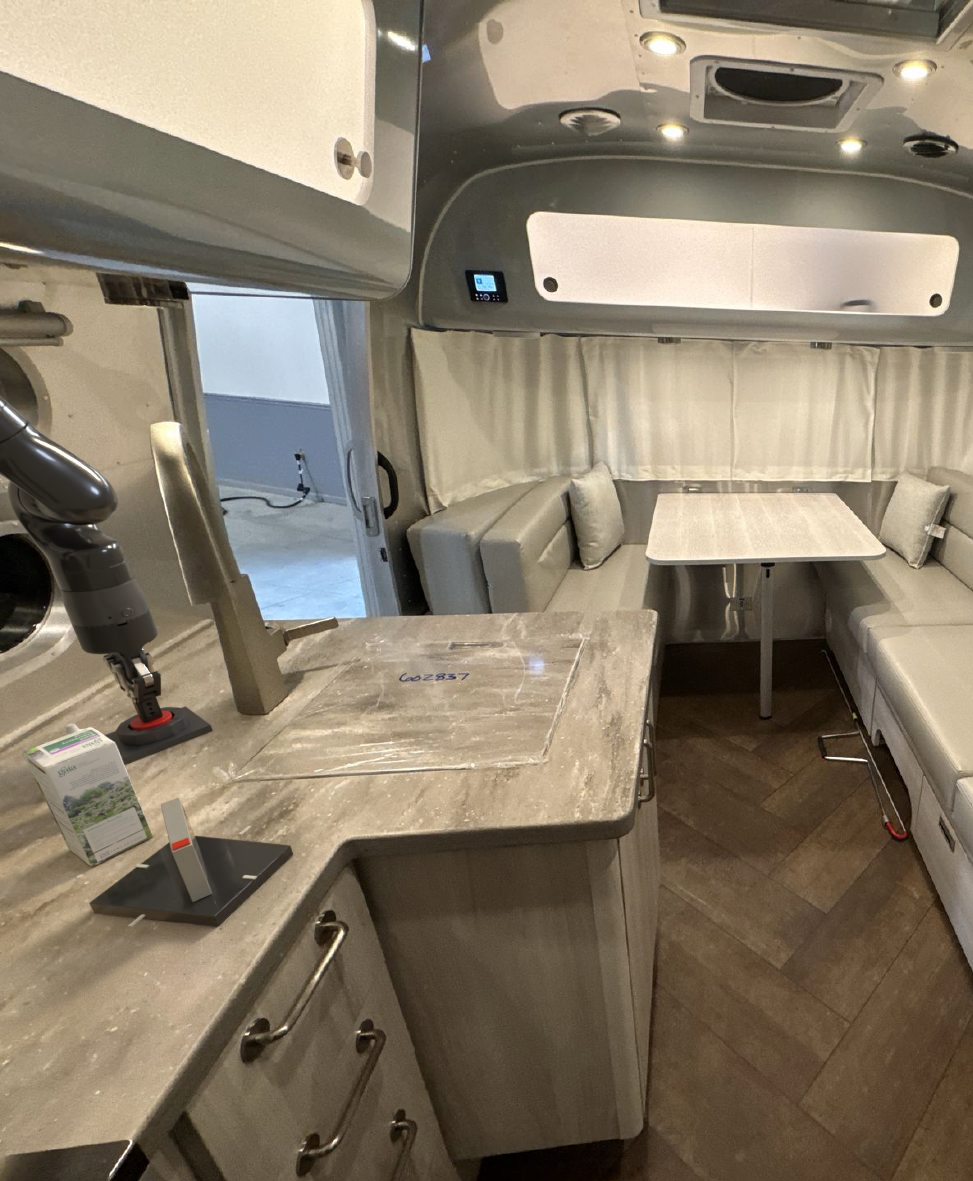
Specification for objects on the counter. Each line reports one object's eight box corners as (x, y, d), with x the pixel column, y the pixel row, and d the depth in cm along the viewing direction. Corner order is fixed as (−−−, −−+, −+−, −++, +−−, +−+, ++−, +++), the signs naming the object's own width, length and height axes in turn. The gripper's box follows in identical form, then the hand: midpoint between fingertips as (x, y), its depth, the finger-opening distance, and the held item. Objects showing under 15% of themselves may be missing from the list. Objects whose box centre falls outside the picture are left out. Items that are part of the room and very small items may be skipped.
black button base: (124, 765, 88) (117, 748, 87) (101, 743, 92) (93, 726, 91) (213, 731, 96) (207, 714, 95) (187, 712, 100) (181, 696, 99)
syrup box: (132, 820, 79) (90, 723, 74) (156, 837, 77) (114, 738, 71) (69, 850, 74) (18, 749, 69) (92, 869, 72) (42, 766, 67)
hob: (70, 930, 65) (64, 918, 64) (199, 830, 78) (195, 820, 78) (200, 944, 64) (195, 933, 64) (308, 841, 78) (305, 831, 77)
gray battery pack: (179, 851, 73) (159, 801, 70) (198, 844, 74) (178, 795, 72) (192, 902, 67) (171, 850, 64) (212, 893, 68) (191, 842, 65)
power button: (140, 740, 91) (136, 730, 90) (129, 730, 93) (125, 720, 92) (180, 726, 95) (176, 716, 94) (167, 716, 97) (164, 707, 96)
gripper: (54, 610, 87) (100, 716, 93) (89, 635, 81) (135, 747, 87) (128, 593, 93) (166, 694, 99) (165, 615, 87) (203, 721, 93)
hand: (152, 718), depth 93 cm, fingers closed
